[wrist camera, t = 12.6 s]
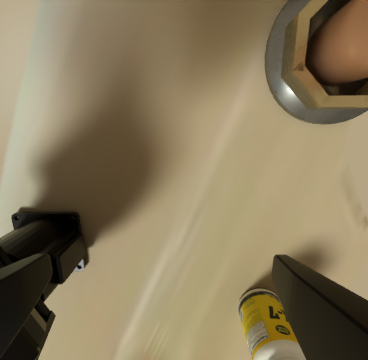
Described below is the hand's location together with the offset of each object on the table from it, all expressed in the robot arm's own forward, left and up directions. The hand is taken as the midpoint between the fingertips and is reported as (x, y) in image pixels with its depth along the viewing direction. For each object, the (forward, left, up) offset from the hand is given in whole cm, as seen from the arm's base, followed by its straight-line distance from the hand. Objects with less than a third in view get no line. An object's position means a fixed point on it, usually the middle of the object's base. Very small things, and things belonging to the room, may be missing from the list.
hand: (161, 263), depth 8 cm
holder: (+13, +11, -12) cm, 21 cm away
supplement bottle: (+9, -14, -12) cm, 21 cm away
